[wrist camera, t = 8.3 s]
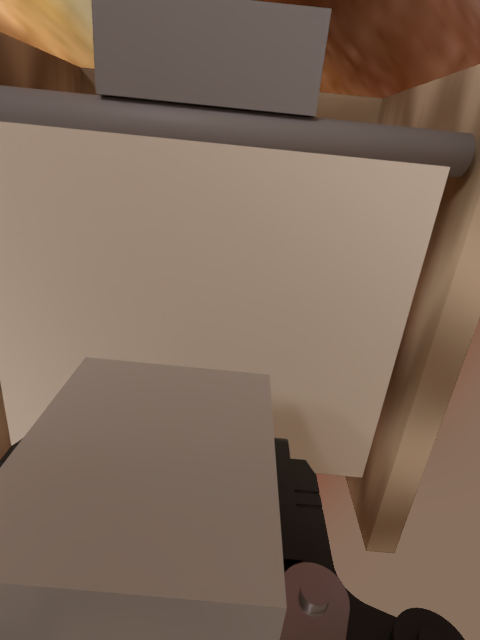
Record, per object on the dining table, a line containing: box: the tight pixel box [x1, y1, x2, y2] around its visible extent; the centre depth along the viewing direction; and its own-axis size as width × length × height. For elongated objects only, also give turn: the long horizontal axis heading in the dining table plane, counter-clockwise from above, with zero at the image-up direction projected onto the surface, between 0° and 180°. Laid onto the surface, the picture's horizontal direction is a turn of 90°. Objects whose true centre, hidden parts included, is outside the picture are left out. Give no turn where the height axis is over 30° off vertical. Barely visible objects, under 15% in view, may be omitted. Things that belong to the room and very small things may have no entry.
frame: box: [0, 32, 480, 553], centre depth 20 cm, size 18×18×14 cm
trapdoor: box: [0, 0, 475, 478], centre depth 14 cm, size 15×15×2 cm
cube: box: [0, 357, 287, 640], centre depth 9 cm, size 5×5×6 cm
